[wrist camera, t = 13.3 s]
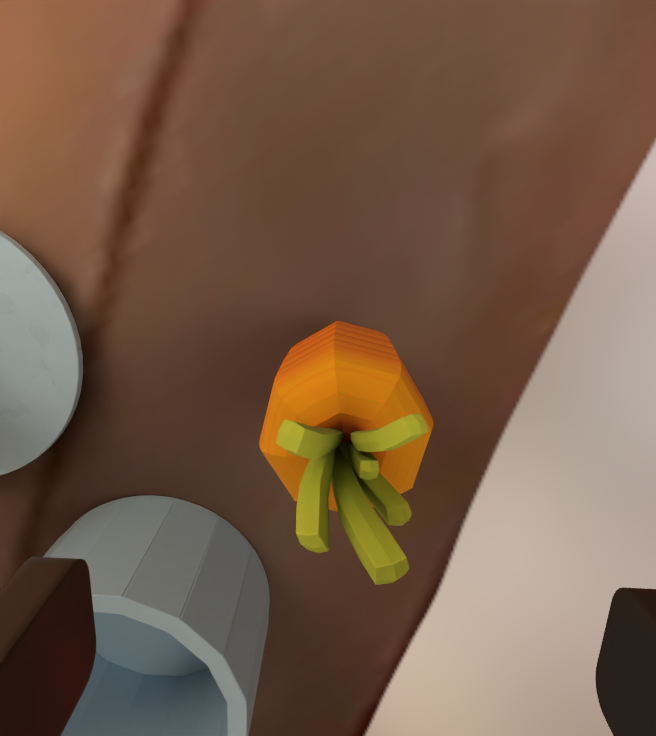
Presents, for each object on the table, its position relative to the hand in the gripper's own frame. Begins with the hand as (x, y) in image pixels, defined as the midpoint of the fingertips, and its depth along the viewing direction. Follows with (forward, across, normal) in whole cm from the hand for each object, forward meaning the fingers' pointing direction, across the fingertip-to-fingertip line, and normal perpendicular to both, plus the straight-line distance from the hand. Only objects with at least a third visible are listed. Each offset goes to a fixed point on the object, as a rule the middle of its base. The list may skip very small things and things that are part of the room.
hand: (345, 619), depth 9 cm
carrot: (+18, 0, 0) cm, 18 cm away
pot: (+17, +9, +14) cm, 24 cm away
